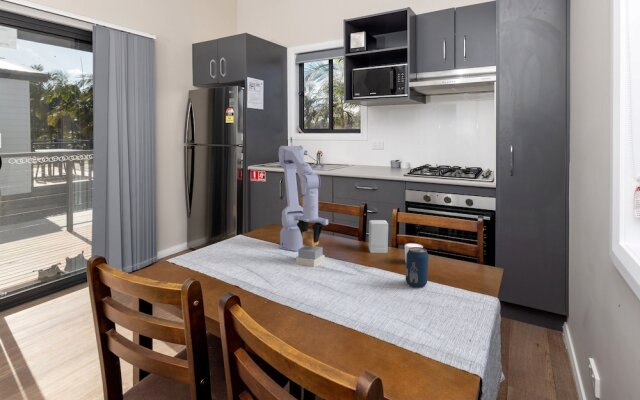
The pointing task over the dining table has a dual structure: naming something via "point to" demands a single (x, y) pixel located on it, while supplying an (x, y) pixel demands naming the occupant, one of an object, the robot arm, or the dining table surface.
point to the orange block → (309, 239)
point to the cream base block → (310, 261)
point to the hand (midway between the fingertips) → (310, 241)
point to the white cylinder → (410, 247)
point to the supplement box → (378, 236)
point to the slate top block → (310, 252)
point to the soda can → (417, 267)
